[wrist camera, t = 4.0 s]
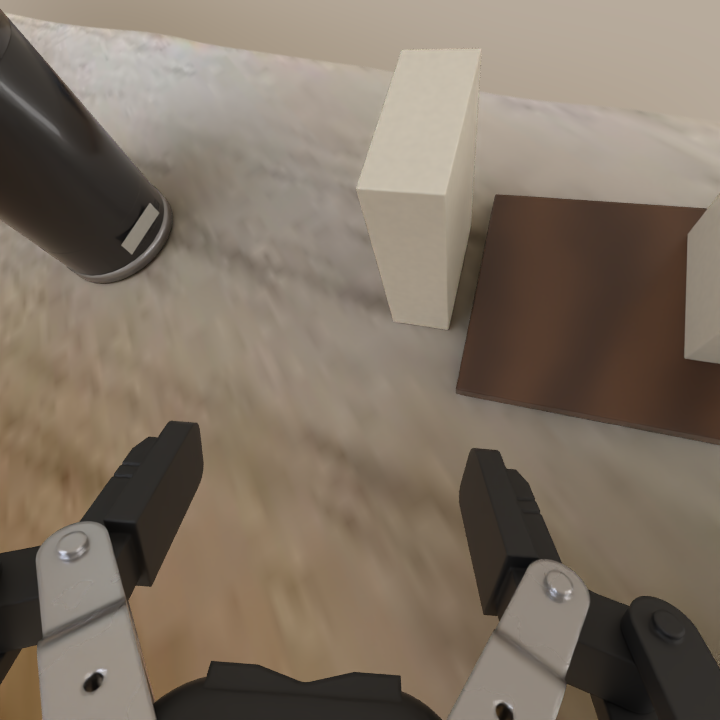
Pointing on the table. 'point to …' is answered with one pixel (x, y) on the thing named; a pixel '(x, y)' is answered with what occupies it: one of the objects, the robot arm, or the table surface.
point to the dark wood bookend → (589, 316)
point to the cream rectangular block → (703, 288)
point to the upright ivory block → (423, 182)
